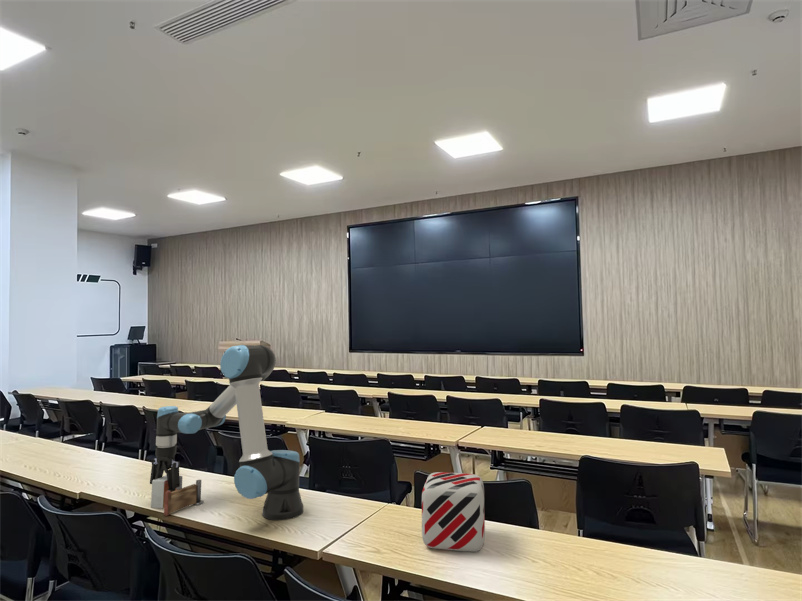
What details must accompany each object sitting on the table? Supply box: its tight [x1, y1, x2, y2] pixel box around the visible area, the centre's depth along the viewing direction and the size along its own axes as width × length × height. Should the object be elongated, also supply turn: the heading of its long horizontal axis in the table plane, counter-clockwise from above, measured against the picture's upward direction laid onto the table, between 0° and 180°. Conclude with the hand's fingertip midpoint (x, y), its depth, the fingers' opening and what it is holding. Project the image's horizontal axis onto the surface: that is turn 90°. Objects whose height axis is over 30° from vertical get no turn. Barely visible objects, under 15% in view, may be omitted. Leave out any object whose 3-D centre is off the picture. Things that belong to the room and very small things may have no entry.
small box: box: [150, 474, 177, 510], centre depth 184 cm, size 8×6×10 cm
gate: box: [163, 483, 197, 516], centre depth 178 cm, size 13×2×8 cm, turn 155°
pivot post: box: [192, 479, 205, 506], centre depth 186 cm, size 4×4×9 cm
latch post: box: [177, 475, 183, 490], centre depth 194 cm, size 5×3×8 cm, turn 65°
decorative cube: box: [421, 471, 486, 552], centre depth 152 cm, size 20×20×20 cm
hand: (163, 504), depth 184 cm, fingers open, 7 cm apart
